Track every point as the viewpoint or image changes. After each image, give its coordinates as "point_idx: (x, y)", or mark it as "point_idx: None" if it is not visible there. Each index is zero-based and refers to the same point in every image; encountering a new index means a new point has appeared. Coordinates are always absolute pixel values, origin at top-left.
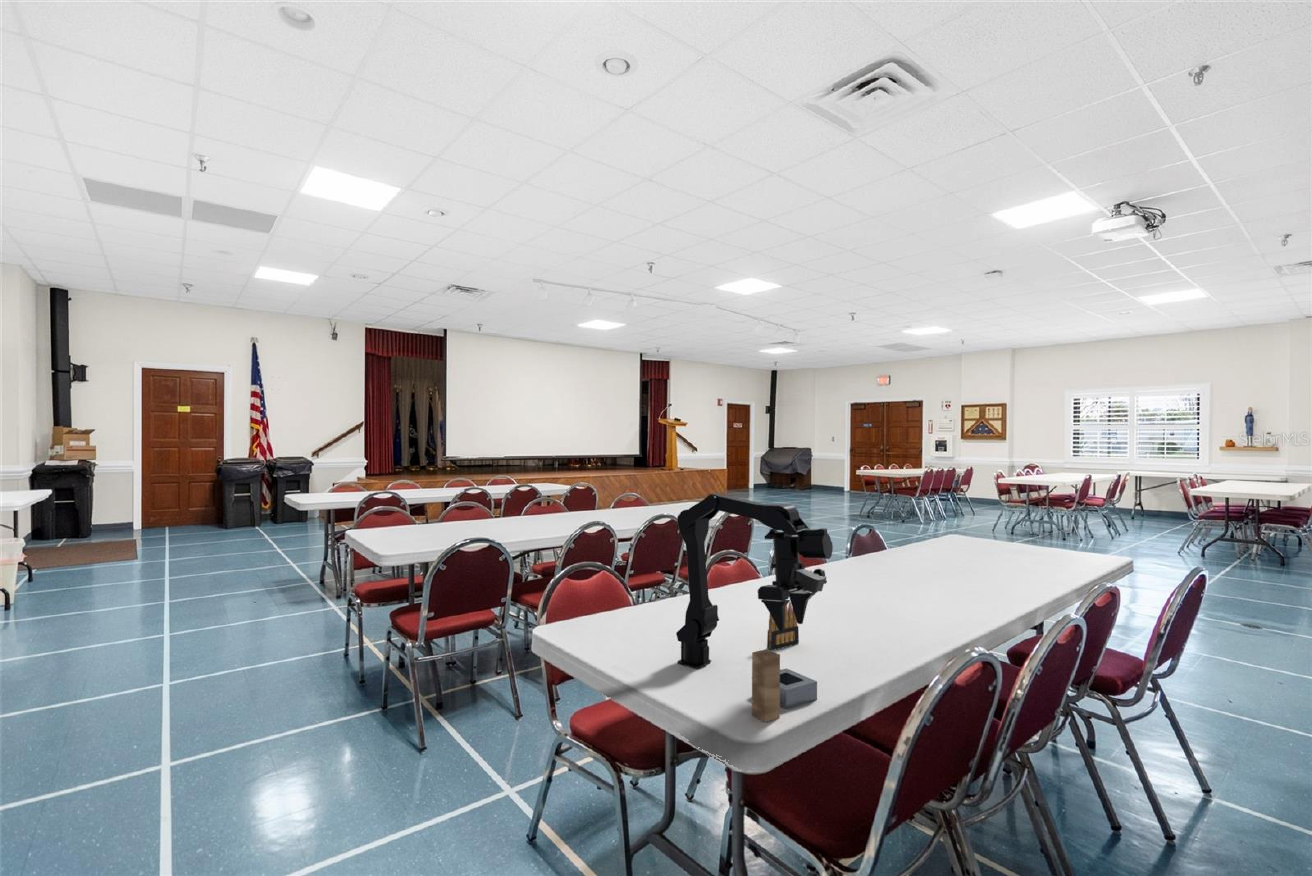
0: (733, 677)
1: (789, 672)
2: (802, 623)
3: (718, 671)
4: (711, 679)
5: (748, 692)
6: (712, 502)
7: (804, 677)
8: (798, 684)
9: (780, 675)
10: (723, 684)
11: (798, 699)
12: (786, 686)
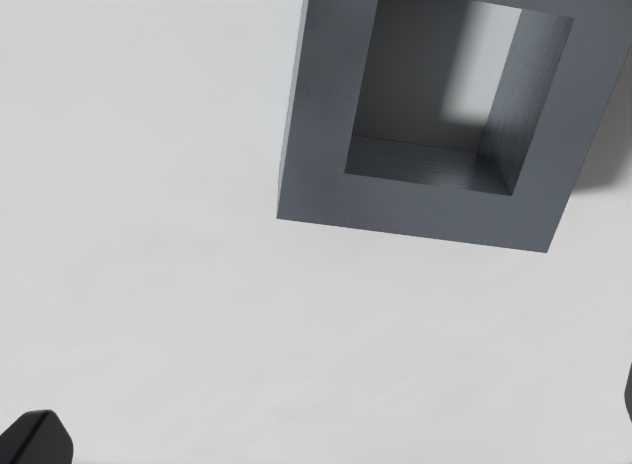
0: (398, 389)
1: (329, 159)
2: (27, 412)
3: (388, 461)
4: (492, 425)
5: None
6: None
7: (330, 22)
8: None
9: (400, 177)
10: (507, 365)
11: None
12: (595, 3)
